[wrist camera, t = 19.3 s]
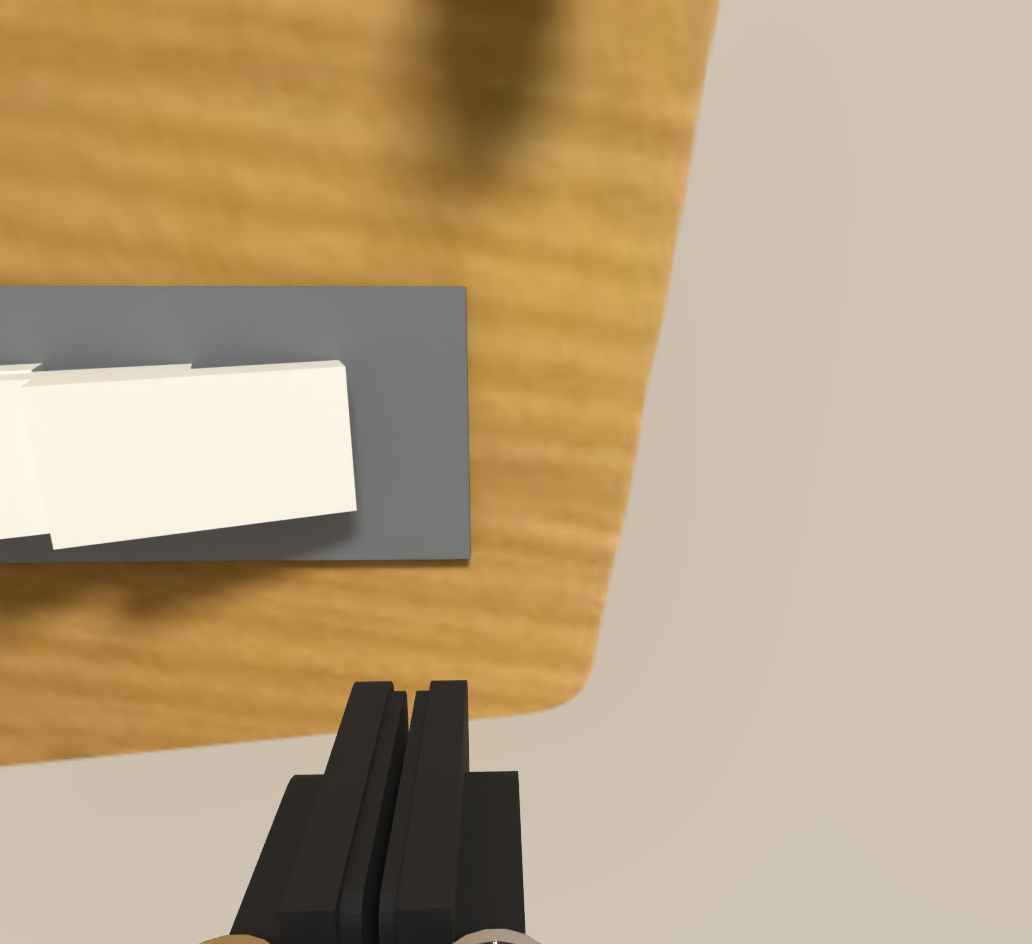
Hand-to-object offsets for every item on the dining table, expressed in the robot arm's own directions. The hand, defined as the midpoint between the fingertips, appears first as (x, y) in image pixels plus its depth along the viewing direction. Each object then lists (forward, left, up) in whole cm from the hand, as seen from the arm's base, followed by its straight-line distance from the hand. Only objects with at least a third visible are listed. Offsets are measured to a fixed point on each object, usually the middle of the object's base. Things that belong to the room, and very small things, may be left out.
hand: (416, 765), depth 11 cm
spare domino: (-5, 0, -20) cm, 21 cm away
